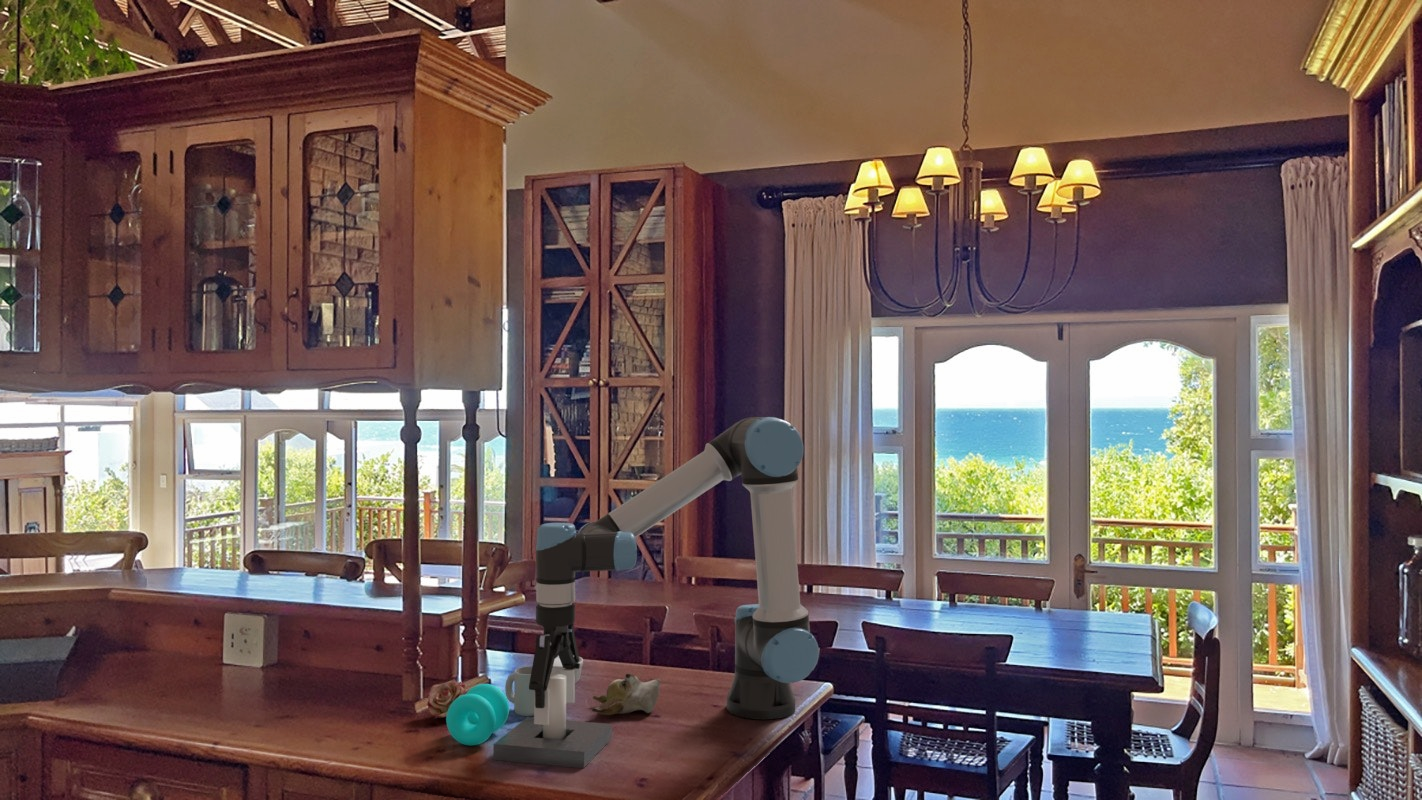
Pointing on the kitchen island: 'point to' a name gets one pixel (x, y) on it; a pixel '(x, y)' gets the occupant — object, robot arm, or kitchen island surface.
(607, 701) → the ceramic sculpture
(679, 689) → the kitchen island surface
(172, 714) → the kitchen island surface
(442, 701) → the flower
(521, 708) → the cup
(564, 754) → the block
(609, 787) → the kitchen island surface
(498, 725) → the turquoise yo-yo
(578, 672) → the ramekin
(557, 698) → the white tapered capsule
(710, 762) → the kitchen island surface
